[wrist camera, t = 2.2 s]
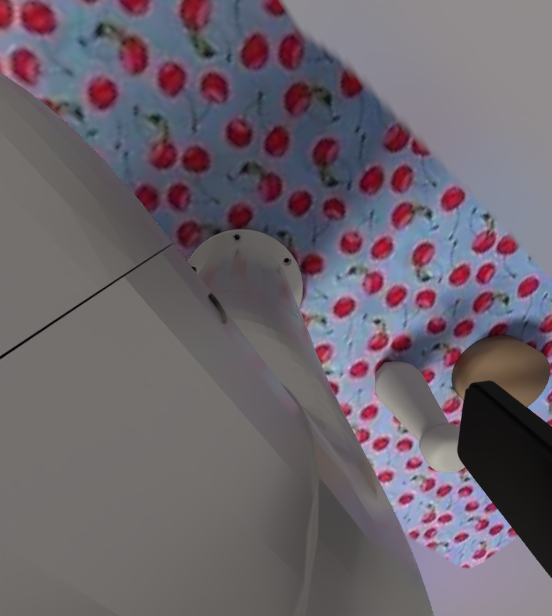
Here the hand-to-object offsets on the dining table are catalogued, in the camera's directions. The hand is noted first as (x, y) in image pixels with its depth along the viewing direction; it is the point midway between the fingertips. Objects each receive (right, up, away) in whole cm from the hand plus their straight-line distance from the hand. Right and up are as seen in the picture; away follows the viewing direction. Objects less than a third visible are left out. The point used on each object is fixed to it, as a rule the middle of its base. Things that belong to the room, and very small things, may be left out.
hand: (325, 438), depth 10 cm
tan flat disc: (+26, -4, +29) cm, 39 cm away
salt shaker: (+13, -4, +28) cm, 31 cm away
